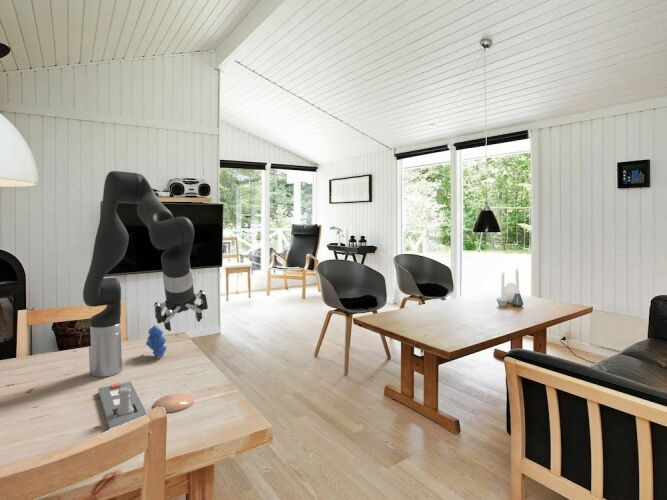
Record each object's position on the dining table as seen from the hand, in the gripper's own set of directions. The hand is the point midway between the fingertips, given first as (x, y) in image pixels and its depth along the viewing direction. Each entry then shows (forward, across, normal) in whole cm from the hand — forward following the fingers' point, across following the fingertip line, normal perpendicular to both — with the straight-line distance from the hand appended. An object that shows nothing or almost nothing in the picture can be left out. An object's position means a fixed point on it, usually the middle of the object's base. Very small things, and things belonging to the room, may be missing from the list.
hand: (183, 324), depth 119 cm
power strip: (+18, +21, +7) cm, 28 cm away
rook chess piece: (+15, +20, +13) cm, 28 cm away
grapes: (+40, +7, -27) cm, 49 cm away
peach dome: (+17, +8, +13) cm, 23 cm away
